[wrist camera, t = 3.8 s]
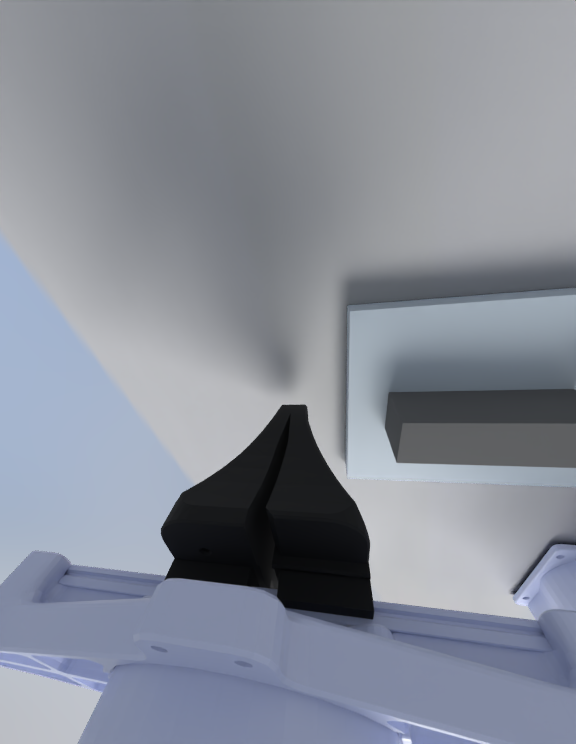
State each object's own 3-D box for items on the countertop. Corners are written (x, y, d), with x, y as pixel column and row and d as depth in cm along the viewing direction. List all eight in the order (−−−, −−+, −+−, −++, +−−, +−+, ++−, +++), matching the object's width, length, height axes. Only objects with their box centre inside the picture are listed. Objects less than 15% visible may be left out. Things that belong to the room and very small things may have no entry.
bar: (551, 429, 12) (601, 468, 10) (384, 428, 13) (396, 463, 11) (573, 388, 11) (634, 423, 9) (388, 392, 12) (402, 423, 10)
